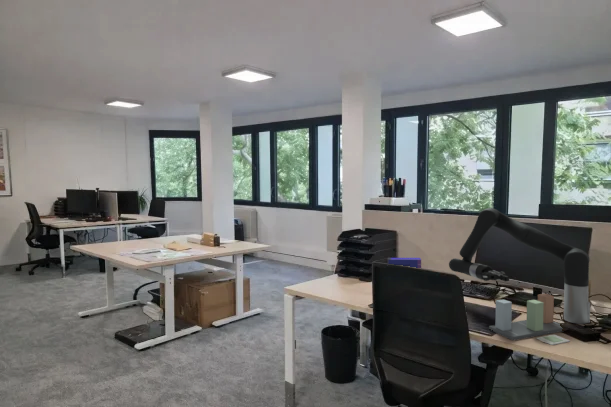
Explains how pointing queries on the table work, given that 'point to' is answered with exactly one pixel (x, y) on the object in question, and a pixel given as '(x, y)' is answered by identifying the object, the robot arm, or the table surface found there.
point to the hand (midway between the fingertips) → (507, 279)
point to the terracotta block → (547, 307)
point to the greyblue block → (503, 314)
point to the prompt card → (553, 339)
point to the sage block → (535, 315)
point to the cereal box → (405, 262)
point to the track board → (526, 330)
